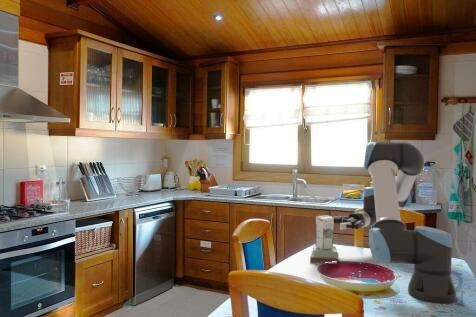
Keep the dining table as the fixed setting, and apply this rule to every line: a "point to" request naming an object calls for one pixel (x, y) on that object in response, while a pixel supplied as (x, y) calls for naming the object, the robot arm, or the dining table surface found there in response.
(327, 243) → the syrup box
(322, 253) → the sage slab
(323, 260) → the walnut slab
